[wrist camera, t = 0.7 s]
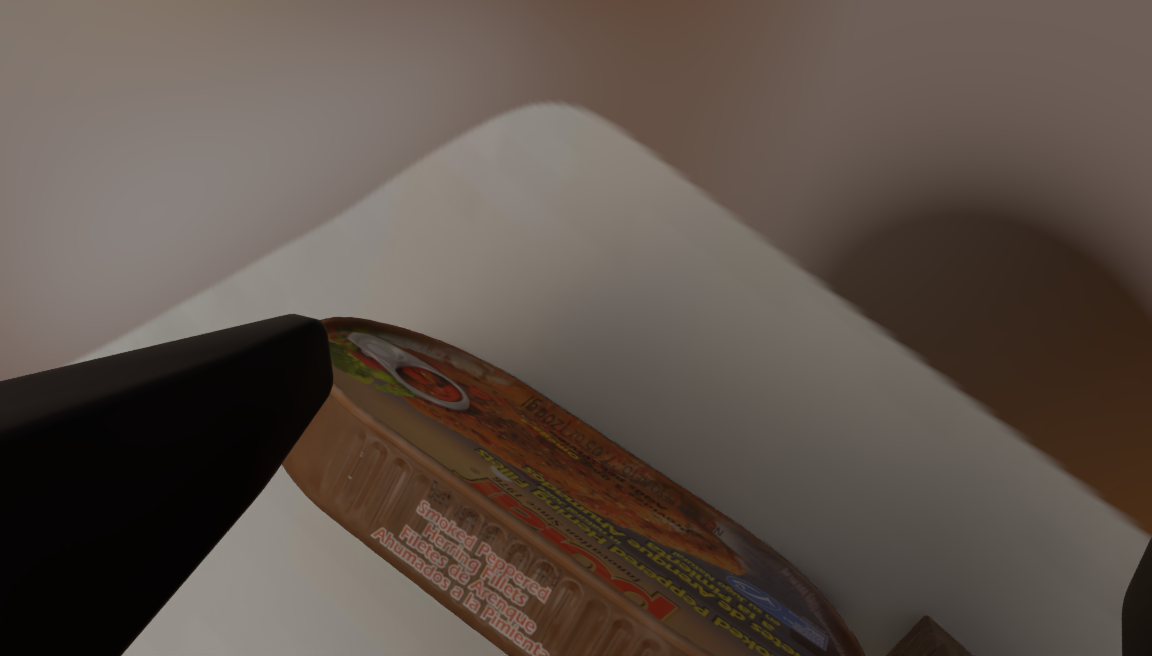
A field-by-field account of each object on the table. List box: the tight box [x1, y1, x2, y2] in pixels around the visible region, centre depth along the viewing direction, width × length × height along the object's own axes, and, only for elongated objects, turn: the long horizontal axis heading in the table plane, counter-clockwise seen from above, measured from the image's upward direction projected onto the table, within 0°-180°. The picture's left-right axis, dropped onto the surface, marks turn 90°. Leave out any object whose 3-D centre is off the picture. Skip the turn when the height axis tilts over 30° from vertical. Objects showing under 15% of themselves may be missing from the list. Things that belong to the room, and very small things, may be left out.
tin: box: [282, 317, 865, 656], centre depth 21 cm, size 15×3×8 cm, turn 58°
